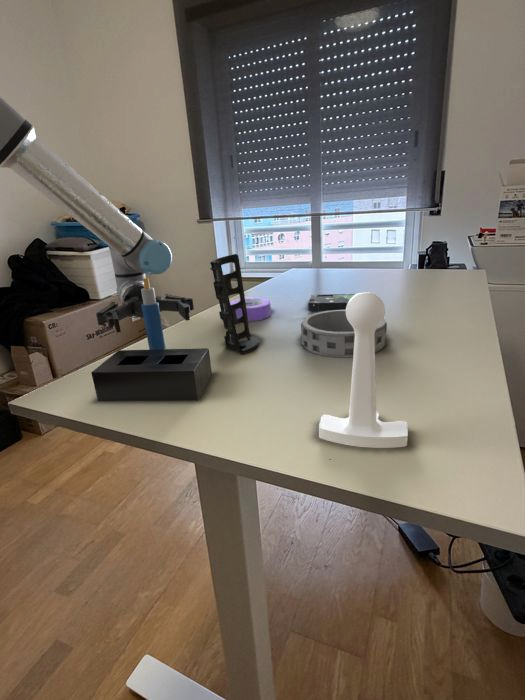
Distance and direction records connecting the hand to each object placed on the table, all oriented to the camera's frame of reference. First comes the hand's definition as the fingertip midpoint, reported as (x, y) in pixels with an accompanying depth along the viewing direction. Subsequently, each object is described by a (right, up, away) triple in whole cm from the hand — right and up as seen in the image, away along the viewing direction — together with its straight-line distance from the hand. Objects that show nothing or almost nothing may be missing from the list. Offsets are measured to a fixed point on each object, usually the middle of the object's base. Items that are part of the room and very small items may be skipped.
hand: (153, 319), depth 80 cm
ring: (+39, -5, +9) cm, 41 cm away
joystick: (+35, -18, -25) cm, 46 cm away
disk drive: (+43, +6, +37) cm, 57 cm away
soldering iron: (0, -9, +4) cm, 10 cm away
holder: (+16, -5, +11) cm, 21 cm away
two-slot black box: (+3, -13, -8) cm, 16 cm away
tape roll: (+18, +4, +35) cm, 39 cm away
